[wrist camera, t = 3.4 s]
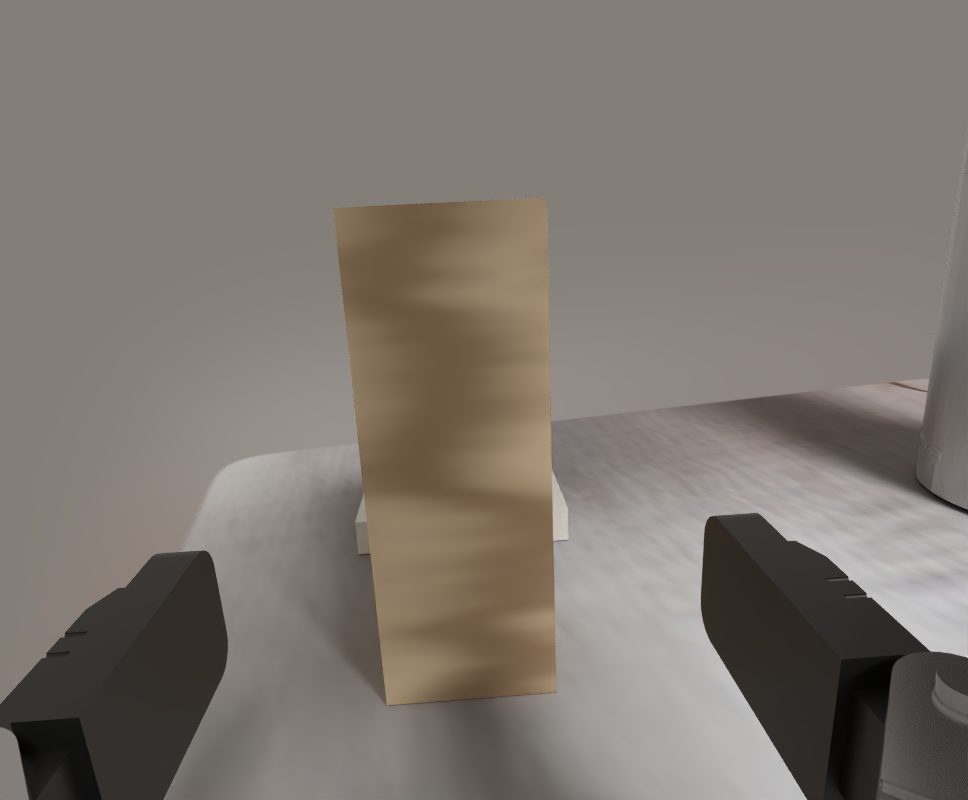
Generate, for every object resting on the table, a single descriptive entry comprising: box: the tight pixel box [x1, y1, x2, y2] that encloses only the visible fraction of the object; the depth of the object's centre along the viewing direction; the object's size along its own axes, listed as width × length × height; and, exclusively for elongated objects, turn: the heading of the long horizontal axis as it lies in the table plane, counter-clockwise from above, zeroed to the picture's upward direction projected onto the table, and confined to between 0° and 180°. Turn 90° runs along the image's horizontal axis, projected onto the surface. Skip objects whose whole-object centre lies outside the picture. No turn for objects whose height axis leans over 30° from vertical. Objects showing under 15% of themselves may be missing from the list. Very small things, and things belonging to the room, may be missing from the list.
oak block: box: [333, 198, 556, 705], centre depth 19 cm, size 5×5×14 cm
